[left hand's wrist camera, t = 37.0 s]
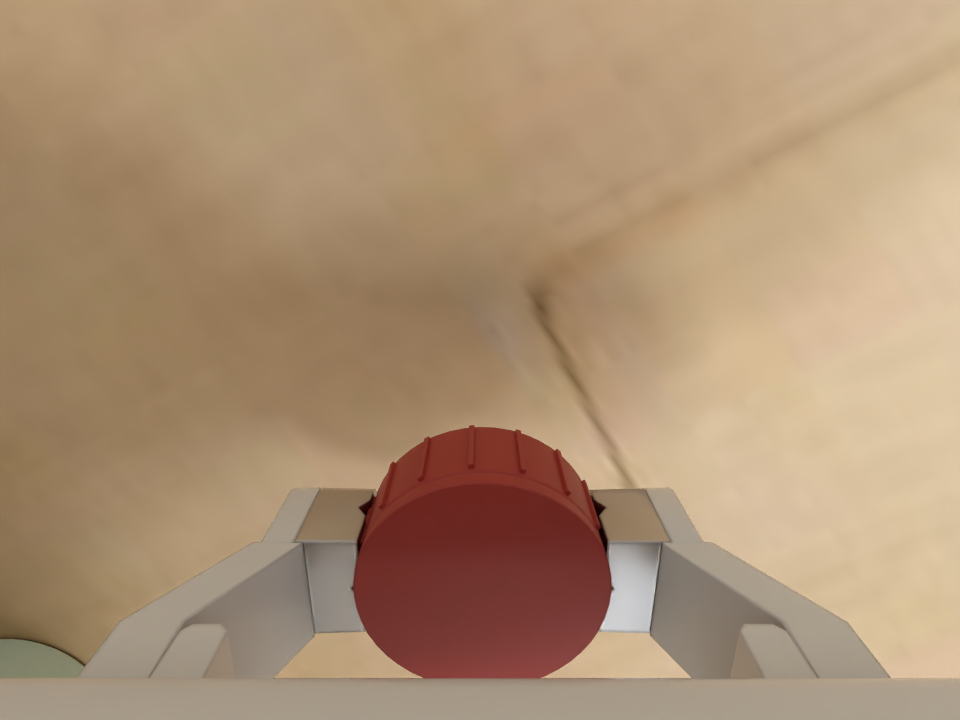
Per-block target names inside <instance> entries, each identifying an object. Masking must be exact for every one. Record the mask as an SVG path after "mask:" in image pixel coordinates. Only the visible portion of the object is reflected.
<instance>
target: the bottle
mask: <svg viewBox="0 0 960 720" xmlns="http://www.w3.org/2000/svg"><path fill="white" fill-rule="evenodd" d="M84 667H85V666H84V665H82V664H81V663H80V662H78V661H77V660H76V659H74V658H72V657H71V656H69V655H67V654H65V653H63V652H61V651H59V650H57V649H55V648H52V647H50V646H47V645H44V644H40V643H37V642H32V641H27V640H20V639H0V678H76V677H77V676H78V675H79V673H80V672H81V671H82V669H83V668H84Z"/></svg>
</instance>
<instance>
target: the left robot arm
mask: <svg viewBox="0 0 960 720" xmlns="http://www.w3.org/2000/svg"><path fill="white" fill-rule="evenodd" d="M589 493H590V496H591V499H592V502H593V505H594V508H595V511H596V514H597V518H598V521H599V524H600V527H601V528H600V529H598V530H599V533H600V536H601V539H602V542H603V545H604V549H605V552H606V555H607V558H608V561H609V565H610V571H611V577H612V592H611V598H610V604H609V607H608V611H607V614H606V617H605V619H604V621H603V623H602V625H601V627H600V629H599V631H600V632H626V633H650V636H651V637H652V638H653V639H654V640H655V641H656V642H657V643H658V644H659V645H660V646H661V647H662V648H663V649H664V650H665V651H666V652H667V653H668V654H669V655H670V656H671V657H672V658H673V659H674V660H675V661H676V662H677V663H678V664H679V665H680V666H681V667H682V668H683V669H684V670H685V671H686V673H687V674H688V675H689V676H690V677H691V678H274V677H275V676H276V675H277V674H278V673H279V672H280V671H281V670H282V669H283V668H284V667H285V666H286V665H287V664H288V663H289V661H290V660H291V659H292V658H293V657H294V656H295V655H296V654H297V653H298V652H299V651H300V650H301V649H302V648H303V647H304V646H305V645H306V644H307V643H308V642H309V641H310V640H311V639H312V638H313V637H314V633H337V632H365V630H366V629H365V628H364V626H363V624H362V622H361V620H360V617H359V614H358V612H357V609H356V604H355V599H354V591H353V579H354V571H355V566H356V562H357V559H358V555H359V552H360V549H361V544H360V542H361V539H362V536H363V533H364V529H365V526H366V515H367V512H368V509H370V508H371V507H372V503H373V500H374V497H376V495H377V491H376V489H346V488H322V489H321V488H295V489H292V490H291V491H290V492H289V494H288V496H287V497H286V499H285V501H284V503H283V505H282V506H281V508H280V510H279V512H278V513H277V515H276V517H275V519H274V520H273V522H272V524H271V526H270V527H269V529H268V531H267V533H266V535H265V536H264V538H263V540H262V542H253V543H251V544H249V545H248V546H246V547H244V548H243V549H241V550H239V551H238V552H236V553H234V554H232V555H231V556H229V557H227V558H226V559H224V560H222V561H221V562H219V563H217V564H216V565H214V566H212V567H211V568H209V569H207V570H205V571H204V572H202V573H200V574H199V575H197V576H195V577H194V578H192V579H190V580H189V581H187V582H185V583H184V584H182V585H180V586H178V587H177V588H175V589H173V590H172V591H170V592H168V593H167V594H165V595H163V596H162V597H160V598H158V599H157V600H155V601H153V602H152V603H150V604H148V605H146V606H145V607H143V608H141V609H140V610H138V611H136V612H135V613H133V614H131V615H130V616H128V617H126V618H125V619H123V620H121V621H120V622H119V623H118V624H117V625H116V627H115V628H114V629H113V631H112V632H111V633H110V635H109V636H108V637H107V638H106V640H105V641H104V642H103V644H102V645H101V646H100V647H99V649H98V650H97V651H96V653H95V654H94V655H93V656H92V658H91V659H90V660H89V662H88V663H87V664H86V666H85V667H84V668H83V669H82V671H81V672H80V673H79V675H78V676H77V677H76V678H0V720H960V678H891V677H890V676H889V675H888V673H887V672H886V671H885V670H884V668H883V667H882V666H881V664H880V663H879V662H878V661H877V659H876V658H875V657H874V656H873V654H872V653H871V652H870V650H869V649H868V648H867V647H866V645H865V644H864V643H863V641H862V640H861V639H860V638H859V636H858V635H857V634H856V632H855V631H854V630H853V629H852V627H851V626H850V625H849V623H848V622H846V621H845V620H843V619H841V618H839V617H838V616H836V615H834V614H833V613H831V612H829V611H828V610H826V609H824V608H822V607H821V606H819V605H817V604H816V603H814V602H812V601H811V600H809V599H807V598H806V597H804V596H802V595H800V594H799V593H797V592H795V591H794V590H792V589H790V588H789V587H787V586H785V585H784V584H782V583H780V582H778V581H777V580H775V579H773V578H772V577H770V576H768V575H767V574H765V573H763V572H761V571H760V570H758V569H756V568H755V567H753V566H751V565H750V564H748V563H746V562H745V561H743V560H741V559H739V558H738V557H736V556H734V555H733V554H731V553H729V552H728V551H726V550H724V549H722V548H721V547H719V546H717V545H716V544H714V543H712V542H703V540H702V538H701V537H700V535H699V533H698V531H697V530H696V528H695V526H694V525H693V523H692V521H691V520H690V518H689V516H688V514H687V513H686V511H685V509H684V508H683V506H682V504H681V503H680V501H679V499H678V497H677V496H676V494H675V492H674V491H673V490H672V489H671V488H669V487H668V488H642V489H609V490H589Z"/></svg>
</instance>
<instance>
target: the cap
mask: <svg viewBox="0 0 960 720" xmlns="http://www.w3.org/2000/svg"><path fill="white" fill-rule="evenodd" d="M600 528H601V527H600V524H599V521H598V518H597V514H596V511H595V508H594V505H593V502H592V499H591V496H590V493H589V490H588V487H587V484H586V481H585V480H583V481H581V479H580V477H579V476H578V474H577V473H576V472H575V470H574V469H573V468H572V466H571V465H570V464H569V463H568V462H567V461H566V460H565V459H564V458H563V457H562V456H561V452H560V451H559V450H558V449H556V450H555V451H554V450H553V449H552V448H551V447H549V446H547V445H545V444H544V443H542V442H540V441H538V440H536V439H534V438H532V437H529V436H527V435H525V434H522V433H521V431H520V430H516V431H511V430H506V429H500V428H489V427H474V425H473V426H469V428H464V429H459V430H454V431H449V432H446V433H443V434H440V435H437V436H435V437H432V438H429V437H427V438H425V439H424V442H422V443H420V444H419V445H417V446H416V447H414V448H413V449H411V450H410V451H408V452H407V453H406V454H405V455H404V456H403V457H401V458H400V459H399V460H398V461H397V462H396V463H394V462H392V463H391V464H390V468H389V471H388V473H387V475H386V476H385V478H384V479H383V481H382V483H381V486H380V488H379V490H378V492H377V495H376V497H374V500H373V503H372V507H371V508H370V509H368V512H367V515H366V526H365V529H364V533H363V536H362V539H361V542H360V544H361V549H360V552H359V555H358V559H357V562H356V566H355V571H354V579H353V591H354V599H355V604H356V609H357V612H358V614H359V617H360V620H361V622H362V624H363V626H364V628H365V629H366V631H367V633H368V635H369V636H370V637H371V639H372V640H373V641H374V642H375V644H376V645H377V646H378V647H379V648H380V649H381V650H382V651H383V652H384V653H385V654H386V655H387V656H388V657H389V658H391V659H392V660H393V661H395V662H396V663H397V664H399V665H400V666H402V667H403V668H405V669H407V670H408V671H410V672H412V673H414V674H416V675H418V676H421V677H423V678H542V677H544V676H546V675H548V674H550V673H552V672H554V671H556V670H558V669H560V668H561V667H563V666H564V665H566V664H567V663H569V662H570V661H571V660H573V659H574V658H575V657H576V656H577V655H579V654H580V653H581V652H582V651H583V650H584V649H585V648H586V647H587V645H588V644H589V643H590V642H591V641H592V640H593V638H594V637H595V635H596V634H597V632H598V631H599V629H600V627H601V625H602V623H603V621H604V619H605V617H606V614H607V611H608V607H609V604H610V598H611V592H612V577H611V571H610V565H609V561H608V558H607V555H606V552H605V549H604V545H603V542H602V539H601V536H600V533H599V530H598V529H600Z"/></svg>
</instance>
